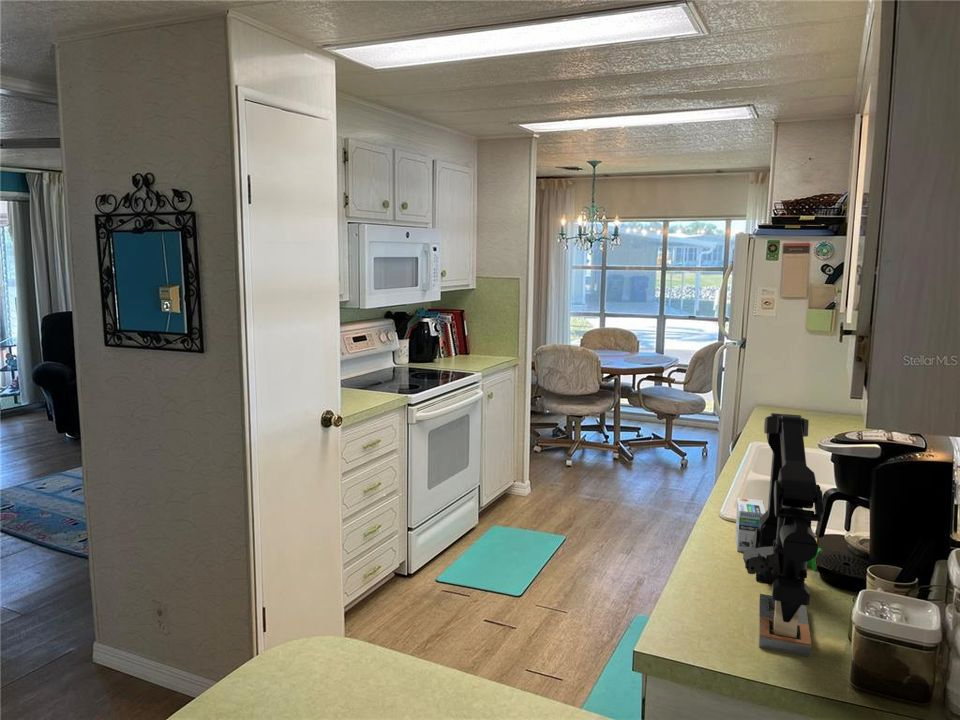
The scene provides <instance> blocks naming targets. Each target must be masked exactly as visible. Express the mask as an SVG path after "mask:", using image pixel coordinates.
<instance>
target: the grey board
mask: <svg viewBox="0 0 960 720" xmlns="http://www.w3.org/2000/svg"><path fill="white" fill-rule="evenodd" d="M770 609H774V610H775V600H774V599H772V594H771V595H770V594H764V593H760V594H759V602H758V624H759V625H758V630H759V631H758V634H759V635H758V647H759V648H760V649H766V650H771V651H776V652H782V653H787V654H792V655H797V656H802V657H806V658H811V656H812V655H811V654H812V639H811V632H810V624H809V619H808V618H809V617H808V612H807V606H805V605H801V606H800V608H799V613H798V625H797V636H798V639H797V638H793V637H788V636H783V635H777V634H772V633H770V632H774V611H772V610H770ZM797 636H796V637H797Z"/></svg>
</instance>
